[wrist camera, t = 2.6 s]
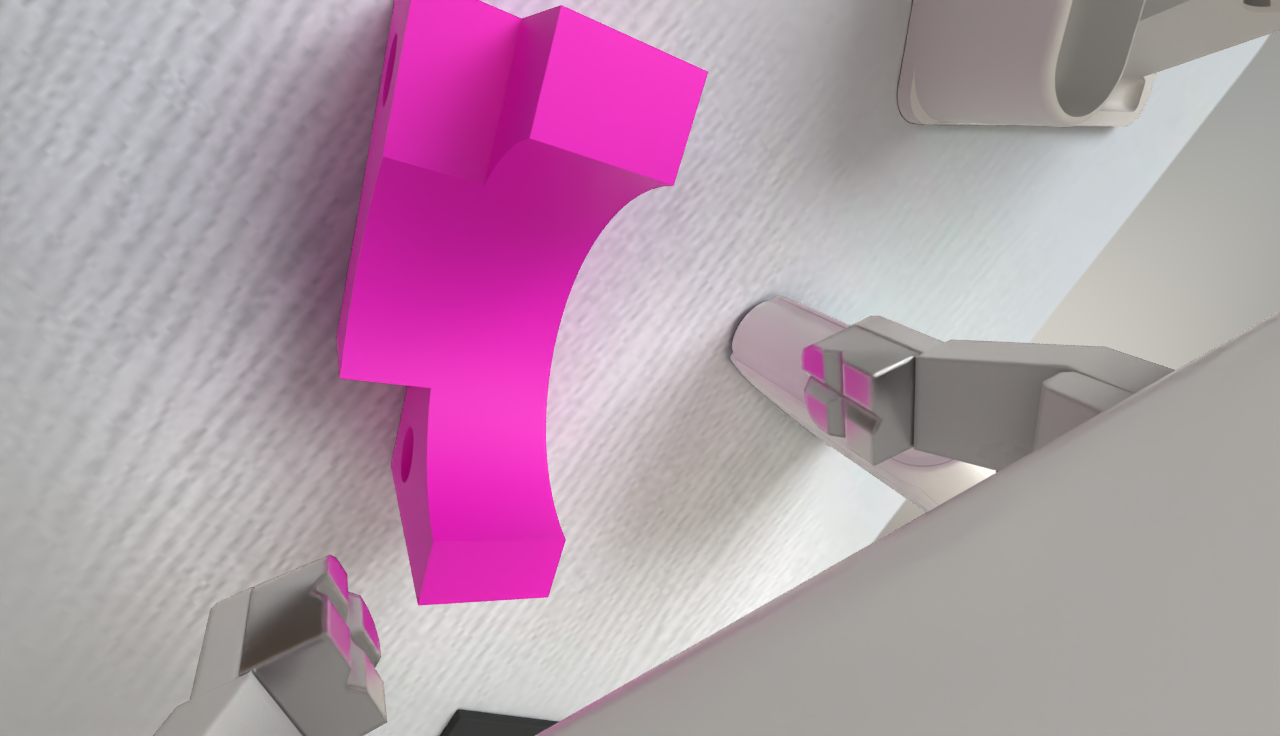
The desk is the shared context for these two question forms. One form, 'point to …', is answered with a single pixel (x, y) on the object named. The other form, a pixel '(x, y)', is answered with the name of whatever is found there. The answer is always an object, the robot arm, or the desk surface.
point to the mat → (493, 725)
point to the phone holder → (1059, 56)
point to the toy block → (492, 260)
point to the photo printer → (774, 368)
